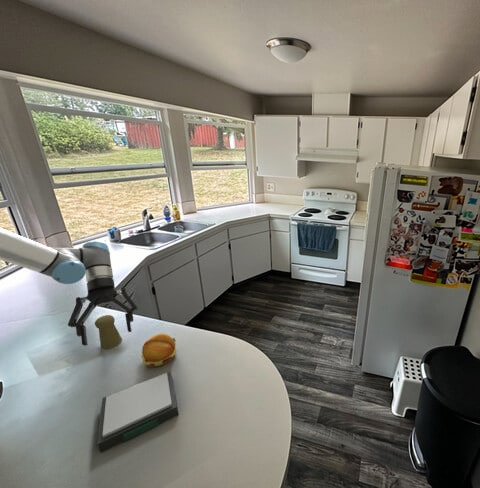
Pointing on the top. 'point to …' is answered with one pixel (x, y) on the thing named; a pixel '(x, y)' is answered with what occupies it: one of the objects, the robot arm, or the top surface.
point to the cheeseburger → (158, 350)
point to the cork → (108, 332)
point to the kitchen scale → (136, 410)
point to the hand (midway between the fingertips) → (108, 337)
